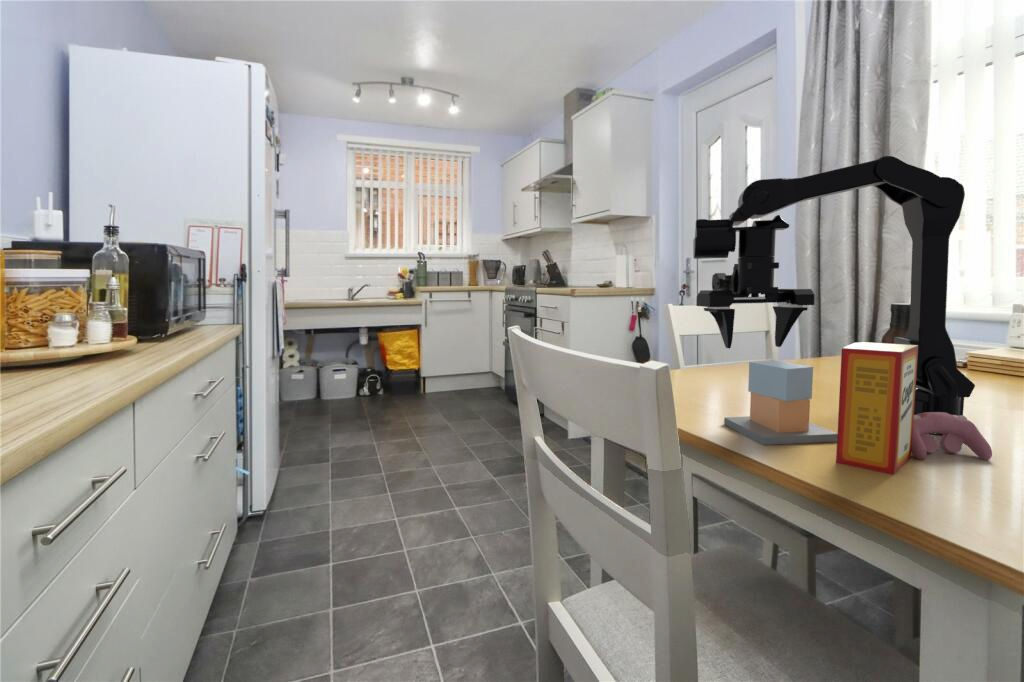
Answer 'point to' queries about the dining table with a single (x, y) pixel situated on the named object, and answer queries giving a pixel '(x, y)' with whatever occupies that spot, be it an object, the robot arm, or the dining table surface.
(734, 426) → the baseplate
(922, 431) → the video game controller
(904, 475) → the dining table surface
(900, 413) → the baking soda box
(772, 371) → the brick top
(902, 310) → the sauce bottle
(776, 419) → the brick bottom
